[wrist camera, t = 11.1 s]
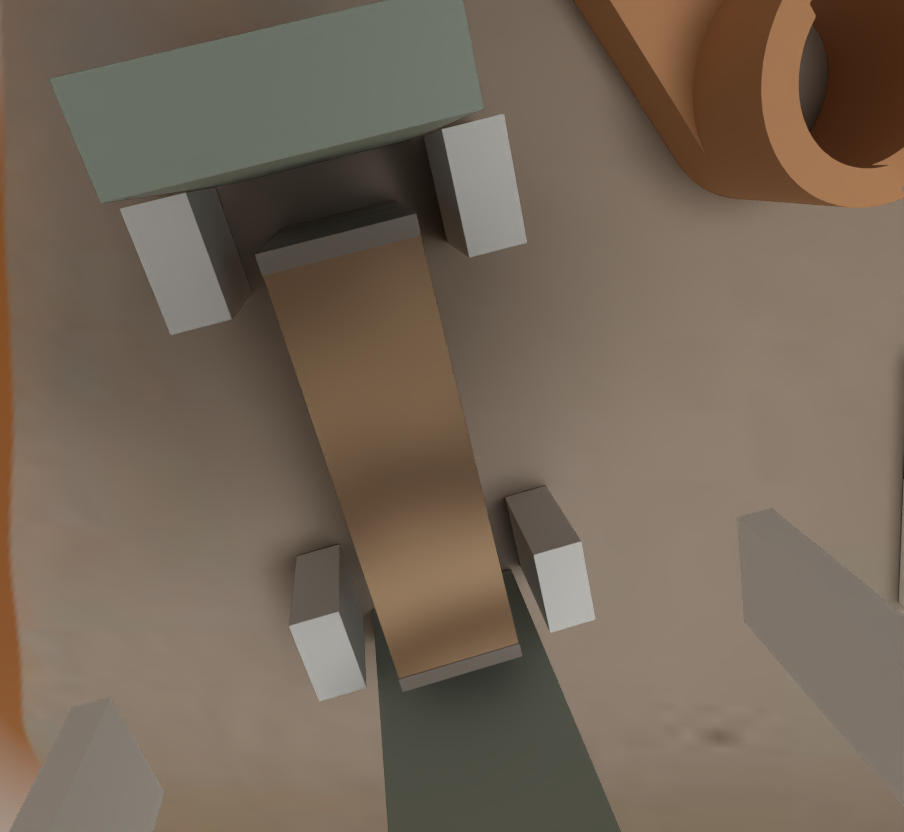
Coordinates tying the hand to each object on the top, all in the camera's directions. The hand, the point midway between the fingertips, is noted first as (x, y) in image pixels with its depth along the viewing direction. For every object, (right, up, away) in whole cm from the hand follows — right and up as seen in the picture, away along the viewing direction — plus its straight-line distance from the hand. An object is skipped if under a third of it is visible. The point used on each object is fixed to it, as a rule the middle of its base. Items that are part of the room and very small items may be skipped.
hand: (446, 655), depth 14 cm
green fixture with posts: (-3, +5, +15) cm, 16 cm away
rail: (-3, +6, +15) cm, 16 cm away
